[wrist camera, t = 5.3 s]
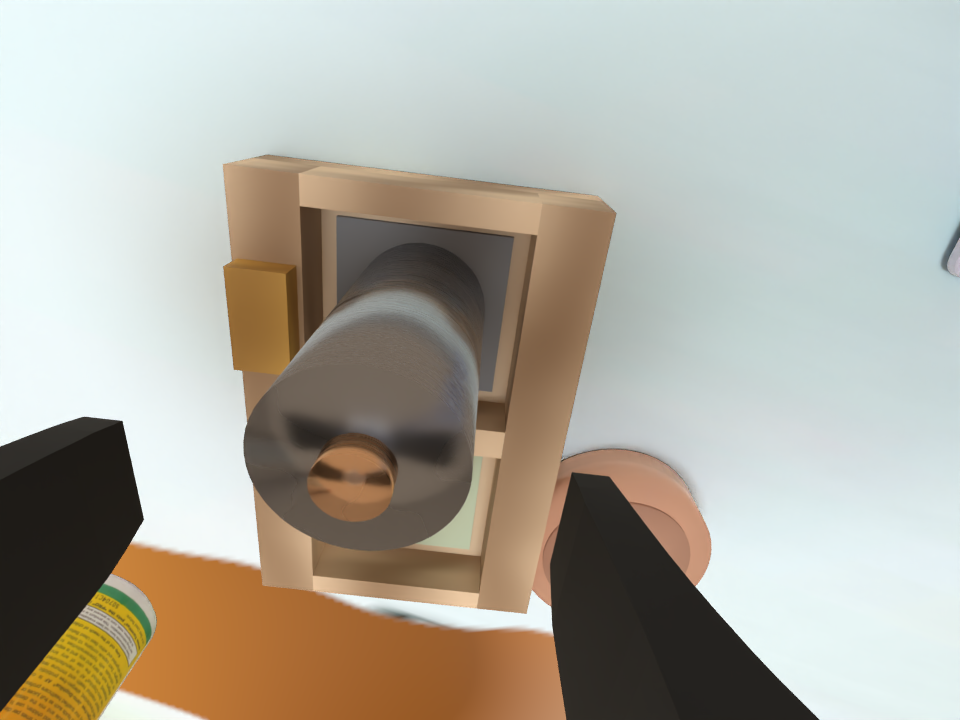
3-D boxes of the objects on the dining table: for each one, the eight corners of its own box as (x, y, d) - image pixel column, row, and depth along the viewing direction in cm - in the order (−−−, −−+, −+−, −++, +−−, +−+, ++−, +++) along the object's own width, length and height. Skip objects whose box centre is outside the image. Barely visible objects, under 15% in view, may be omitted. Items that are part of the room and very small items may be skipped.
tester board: (597, 196, 16) (622, 219, 13) (523, 556, 22) (527, 632, 19) (267, 155, 16) (207, 167, 12) (289, 531, 22) (253, 603, 19)
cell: (492, 251, 16) (484, 399, 8) (477, 370, 17) (458, 587, 10) (357, 234, 15) (214, 367, 8) (356, 356, 17) (238, 563, 9)
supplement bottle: (140, 657, 26) (-36, 927, 18) (31, 613, 25) (-214, 879, 16) (177, 597, 24) (1, 868, 16) (62, 545, 23) (-199, 808, 14)
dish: (716, 460, 20) (739, 498, 18) (666, 589, 23) (681, 633, 21) (533, 439, 20) (537, 475, 18) (508, 572, 23) (509, 615, 21)
